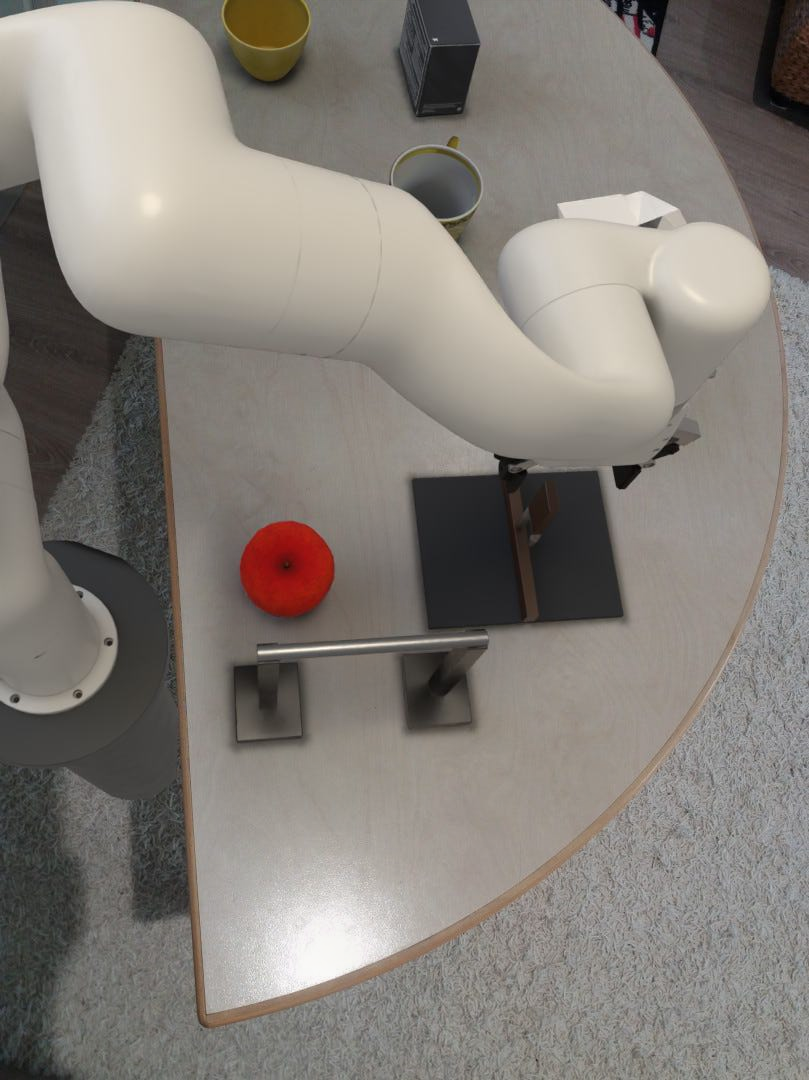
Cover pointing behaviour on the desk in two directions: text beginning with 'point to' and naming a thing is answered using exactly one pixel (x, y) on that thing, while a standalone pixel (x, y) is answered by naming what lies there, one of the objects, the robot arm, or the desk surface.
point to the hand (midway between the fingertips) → (563, 475)
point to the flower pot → (266, 34)
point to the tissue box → (625, 210)
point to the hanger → (540, 518)
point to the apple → (287, 569)
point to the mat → (486, 554)
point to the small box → (438, 54)
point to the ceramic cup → (440, 182)
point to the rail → (428, 677)
